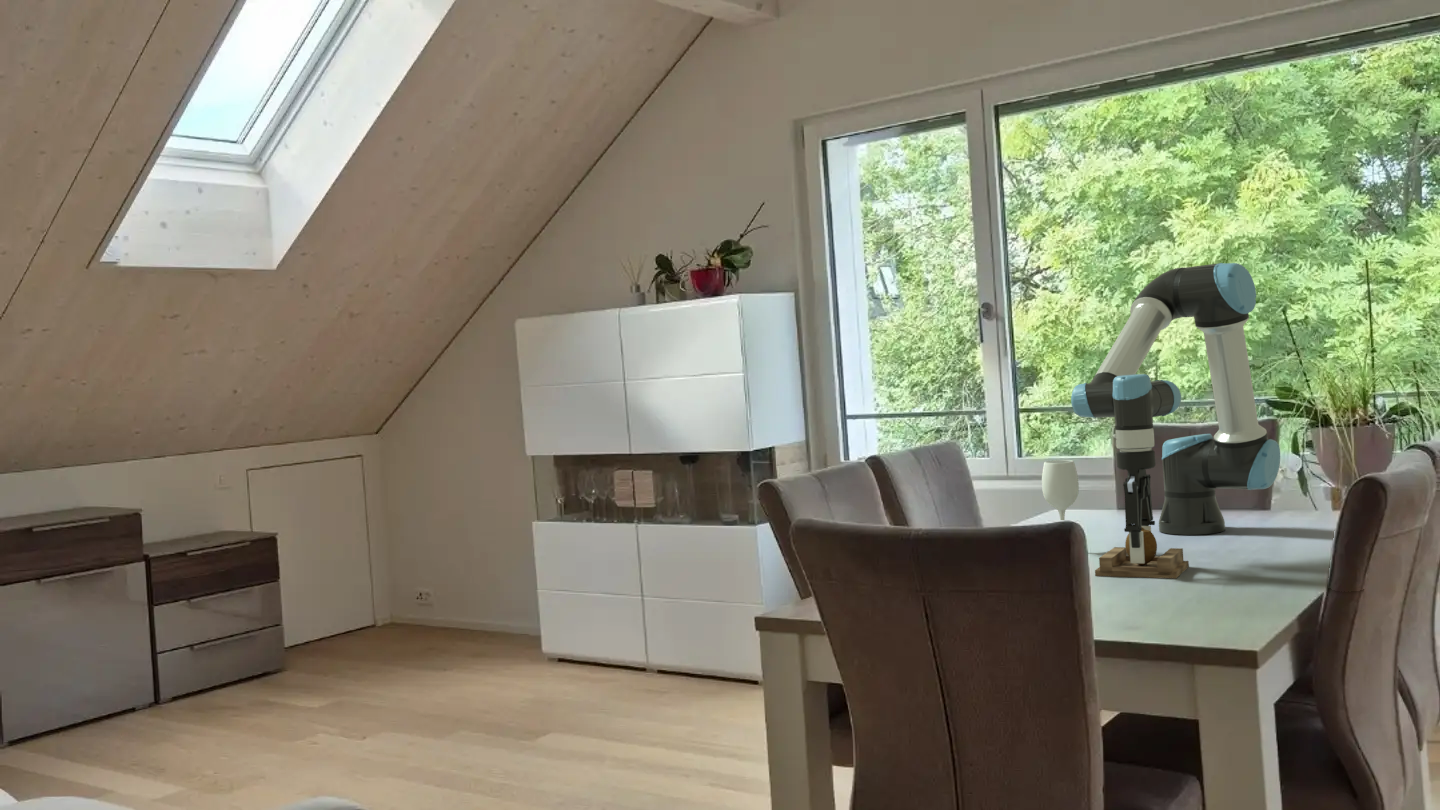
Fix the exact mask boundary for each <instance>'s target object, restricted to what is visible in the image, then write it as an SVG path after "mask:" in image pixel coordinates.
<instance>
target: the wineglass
mask: <svg viewBox="0 0 1440 810" xmlns="http://www.w3.org/2000/svg"><path fill="white" fill-rule="evenodd" d="M1079 483H1080V482H1079V476H1078V470H1077V468H1076V464H1075V461H1074V460H1071V459H1055V460H1046V461H1044V462H1043V467H1042V473H1041V490H1042V495H1043V497H1044V500H1045V501H1046V502H1047V503H1048V504H1049V506H1051V507H1053V508H1055V509H1056V510H1057V511H1058V514H1059V521H1060V520H1065V516H1066V510H1067V509H1068V508H1069V507H1071V506H1072V505H1073V504H1074V503H1075V502H1076V500H1077V498H1078V496H1079V490H1080V489H1079V488H1080V487H1079V485H1080V484H1079Z"/></svg>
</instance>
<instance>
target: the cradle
mask: <svg viewBox="0 0 1440 810" xmlns="http://www.w3.org/2000/svg"><path fill="white" fill-rule="evenodd" d="M1098 559H1099V561H1098V562H1099V563H1098V564H1099V567H1097V568H1096V569H1094V573H1095V574H1094V575H1095V577H1113V578H1115V577H1117V578H1118V577H1119V578H1122V577H1123V578H1143V577H1144V578H1147V579H1149V578H1150V579H1178V578H1179V576H1180V575H1182V574H1183V572H1185V571H1186V570H1187V569H1188V568H1189V567H1190V563H1189V560H1184V548H1180V547H1179V548H1177V547H1175V548H1173V547H1171V548H1168V550H1166V551H1165V552H1164V553H1163V554H1161V555H1160V556H1156V555H1155V557H1154V559H1153V560H1152V561H1151V562H1149V563H1147V564H1146V565H1143V566H1140V565H1138V564H1136V563H1131V561H1130V558H1129V556H1128V555H1127V552H1126V547H1123V546H1122V547H1121V546H1119V547H1116V546H1114V547H1112V548H1111V549H1110V550H1109V551H1107V552H1105V553H1104V554H1103V555H1101V556H1099V558H1098Z"/></svg>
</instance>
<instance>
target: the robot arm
mask: <svg viewBox="0 0 1440 810" xmlns="http://www.w3.org/2000/svg"><path fill="white" fill-rule="evenodd" d="M1256 299H1257V290H1256V285H1255V282H1254V280H1253V277H1252V275H1251V274H1250V272H1249V270H1248V269H1247V268H1246V267H1245V266H1244V265H1242V264H1240V263H1237V262H1232V263H1231V262H1229V263H1228V262H1227V263H1224V262H1218V263H1211V264H1205V265H1196V266H1195V265H1194V266H1187V267H1177V268H1172V269H1169V270H1167V271H1165V272H1163V273H1161V274H1160V275H1157V277H1155V278H1154V279H1153V280H1152V281H1151V282H1149V283H1148V284H1147V285H1146V286H1144V288H1143V289H1142V290H1140V292H1139V293H1138V295H1137V296H1136V297H1135V299H1134V301H1133V302H1132V304H1131V306H1130V308H1129V309H1130V315H1129V318H1128V319H1127V321H1126V323H1125V324H1124V326H1123V327H1122V329H1121V331H1120V333H1119V335H1118V336H1117V338H1116V340H1115V341H1114V343H1113V344H1112V346H1111V348H1110V350H1109V351H1108V353H1107V355H1106V357H1105V358H1104V360H1103V361H1102V362H1101V364H1100V366H1099V367H1098V369H1097V372H1096V373H1095V374H1094V377H1092V380H1091V381H1090V383H1088V382H1084V383H1079V384H1077V385H1075V386H1074V388H1073V389H1072V391H1071V399H1070V401H1071V406H1072V408H1073V412H1074V413H1075V414H1076V416H1078V417H1080V418H1091V419H1092V418H1093V419H1099V418H1114V425H1115V426H1114V429H1115V433H1113V435H1112V438H1113V439H1116V440H1115V445H1116V448H1117V449H1119V450H1118V451H1117V452H1116V465H1117V468H1118V469H1119V470H1123V471H1124V470H1126V471H1127V476H1126V478H1125V481H1124V482H1123V485H1122V486H1123V491H1124V509H1125V510H1124V512H1125V514H1124V515H1125V528H1124V529H1123V530H1124V533H1128V534H1129V544H1130V561H1131V563H1143V564H1144V563H1145V554H1144V537H1143V531H1141V530H1142V528H1144V529H1145V530H1149V531H1151V532H1152V526H1155V524H1156V521H1155V520H1154V515H1153V503H1152V502H1153V501H1152V491H1151V490H1152V489H1151V474H1147V471H1146V470H1150V469H1153V468H1155V467H1156V453H1155V450H1154V449H1152V448H1154V447H1155V431H1154V424H1153V422H1154V420H1153V418H1156V417H1166V416H1168V415H1170V414H1173V413H1175V412H1176V410H1177V409H1179V407H1180V405H1181V402H1182V394H1181V390H1180V389H1179V387H1178V386H1177V384H1175V383H1174V382H1172V381H1170V380H1167V379H1166V380H1165V379H1157V380H1151V377H1150V375H1148V374H1146V373H1144V374H1143V373H1141V374H1140V373H1139V374H1138V373H1137V372H1138V371H1139V370H1140V367H1141V366H1142V364H1143V362H1144V360H1145V359H1146V357H1147V355H1148V354H1149V352H1150V350H1151V348H1152V347H1153V345H1154V343H1155V341H1156V339H1158V336H1159V335H1160V332H1161V331H1163V330H1165V329H1166V328H1168V327H1169V326H1170V324H1171V323H1172V321H1174V320H1176V319H1180V318H1193V320H1194V324H1195V325H1194V326H1195V328H1196V329H1198V330H1200V331H1201V332H1203V336H1204V343H1205V350H1206V356H1207V362H1208V367H1209V373H1210V380H1211V387H1212V393H1213V400H1214V404H1215V405H1214V407H1215V412H1216V418H1217V424H1218V430H1217V432H1216V433H1215V434H1214V435H1212V434H1211V433H1202V434H1194V435H1189V436H1188V435H1187V436H1182V437H1176V438H1172V439H1167V440H1165V441H1164V442H1163V444H1162V446H1161V447H1162V448H1161V450H1162V452H1161V453H1162V455H1161V456H1162V457H1161V461H1162V473H1163V487H1164V489H1163V491H1164V501H1163V505H1162V509H1161V513H1160V516H1159V520H1158V530H1159V532H1160V533H1163V534H1168V535H1182V536H1185V535H1186V536H1188V535H1189V536H1190V535H1195V536H1196V535H1197V536H1199V535H1209V534H1218V533H1222V532H1224V531H1226V521H1225V518H1224V515H1223V514H1222V513H1223V512H1221V509H1220V507H1219V506H1220V505H1219V504H1218V500H1217V498H1216V497H1217V496H1216V489H1227V490H1228V489H1229V490H1230V489H1232V490H1248V491H1253V490H1265V489H1268V488H1270V487H1271V486H1272V485H1273V484H1274V483H1275V481H1276V479H1277V476H1278V473H1279V469H1280V465H1281V448H1280V445H1279V444H1278V442H1277V441H1276V440H1274V439H1272V438H1270V439H1269V437H1268V432H1267V429H1266V428H1265V427H1263V426H1262V425H1260V424H1259V420H1258V414H1257V413H1258V412H1257V408H1256V407H1257V406H1256V401H1255V394H1254V393H1255V392H1254V387H1253V381H1252V376H1251V368H1250V361H1249V356H1248V349H1247V343H1246V335H1245V330H1244V329H1245V328H1244V326H1245V324H1246V323H1247V322H1248V321H1249V319H1250V315H1249V314H1250V313H1251V312H1253V311H1254V310H1255V307H1256V303H1257V301H1256Z"/></svg>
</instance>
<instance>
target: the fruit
mask: <svg viewBox="0 0 1440 810" xmlns="http://www.w3.org/2000/svg"><path fill="white" fill-rule="evenodd" d="M1141 531H1143V537H1144V554H1145V563H1144V564H1143V563H1136V564H1138V565H1140V566H1143V565H1146V564H1147V563H1149V562H1151V561H1152V560H1153V559H1154V557H1155V556H1156V554H1157V551H1158V544H1157V540H1156V537H1155V536H1154V533H1153V532H1152V530H1151V531H1149V530H1145V529H1144V528H1142V530H1141ZM1124 544H1125V545H1124V546H1125V547H1126V552H1127V556H1129V558H1130V544H1129V533H1127V536H1126V539H1125V543H1124Z"/></svg>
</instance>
